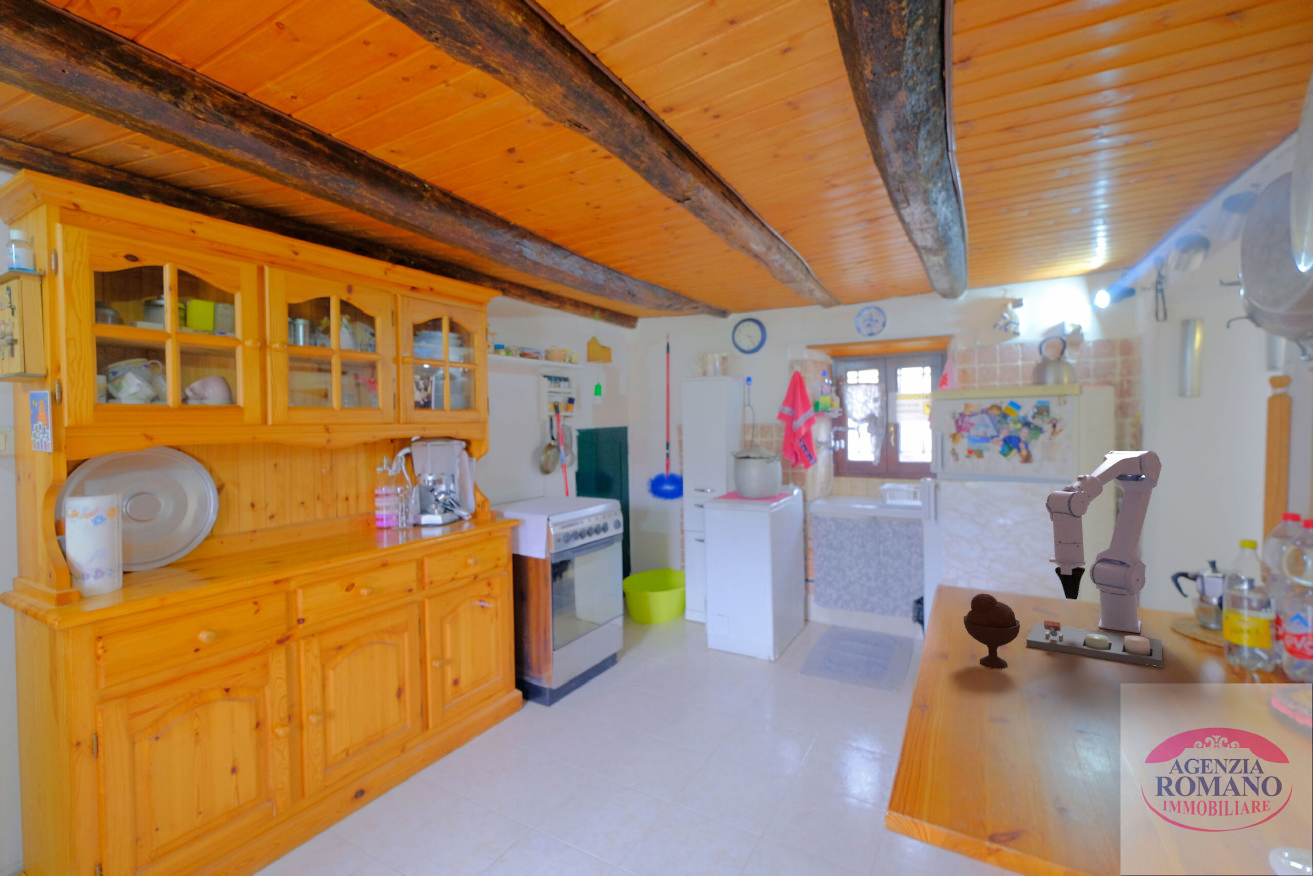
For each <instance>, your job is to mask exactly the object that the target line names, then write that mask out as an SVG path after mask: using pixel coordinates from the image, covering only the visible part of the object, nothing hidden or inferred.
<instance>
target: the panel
mask: <svg viewBox="0 0 1313 876" xmlns="http://www.w3.org/2000/svg"><path fill="white" fill-rule="evenodd" d="M1057 634H1058V635H1057V636H1055V637H1054V636H1051V634H1050V630H1047V629H1045V627H1044V623H1042V622H1035V624H1034V626H1033V627H1032V629H1031V631H1030V632H1029V634H1028V636H1027V638H1026V639H1025V640H1026V647H1031V646H1032V647H1031V648H1038V649H1045V650H1051V651H1055V652H1063V653H1068V654H1075V655H1081V656H1089V657H1095V658H1100V659H1107V660H1114V661H1118V662H1125V663H1132V664H1137V665H1143V664H1148V665H1147V666H1150V665H1156V666H1162V667H1163V640H1162V639H1159V638H1152V637H1145V636H1143V637H1144V638H1147V639H1149V642H1150V655H1139V654H1133V653H1128V652H1126V651H1125V639H1124V637H1125V636H1132V635H1128V634H1123V633H1115V632H1108V631H1099V630H1093V629H1086V628H1078V627H1072V626H1065V625H1061V630H1060V631H1057ZM1086 634H1099V635H1103V636H1106V637H1108V638H1109V650H1106V649H1100V648H1093V647H1087V646H1086V641H1085V635H1086ZM1151 655H1152V656H1151ZM1156 666H1155V667H1156Z"/></svg>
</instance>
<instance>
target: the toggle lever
mask: <svg viewBox="0 0 1313 876" xmlns="http://www.w3.org/2000/svg"><path fill="white" fill-rule="evenodd" d="M1043 624H1044V627H1045V629H1047V630H1050V634H1051V636H1054V637H1055V636H1057V635H1058V634H1057V631H1060V630H1061V626H1062V625H1061V622H1059V621H1053V620H1051V621H1050V620H1046V619H1045V620H1044V623H1043Z"/></svg>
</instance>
